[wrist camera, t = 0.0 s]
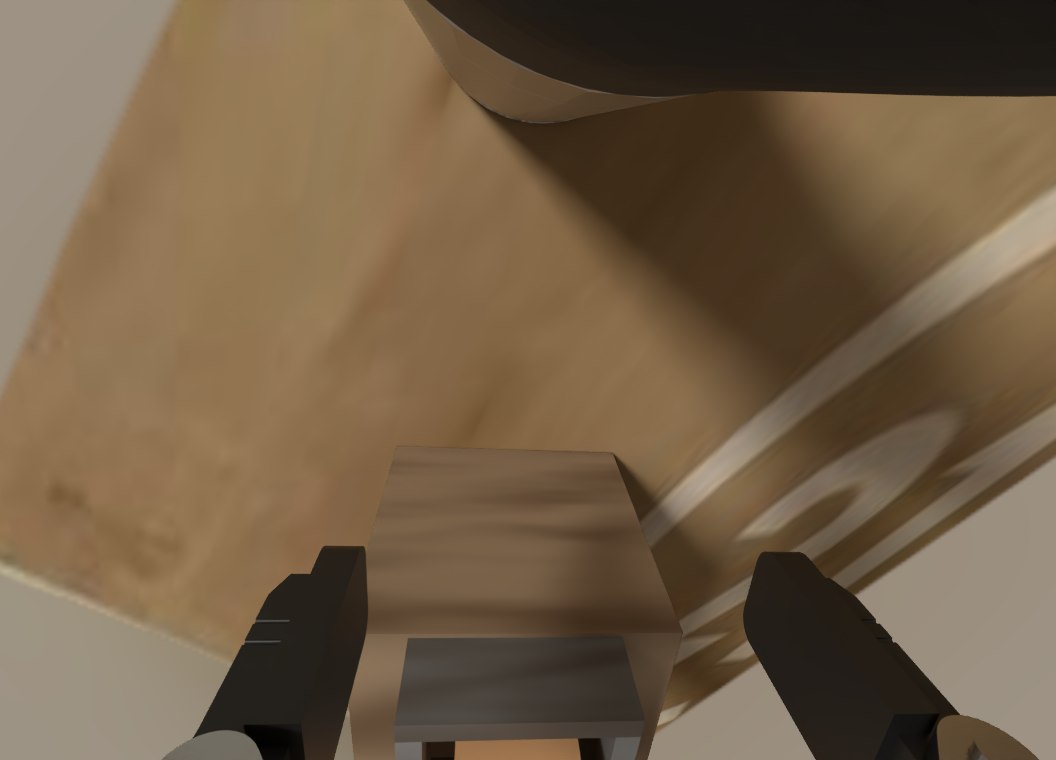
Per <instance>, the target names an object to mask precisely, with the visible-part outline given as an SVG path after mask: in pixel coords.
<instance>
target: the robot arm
mask: <svg viewBox="0 0 1056 760" xmlns="http://www.w3.org/2000/svg"><path fill="white" fill-rule="evenodd" d="M404 1H405V3H406V5H407V6H408V8H409V10H410V11H411V13H412V14H413V16H414V18H415V19H416V21H417V22H418V24H419V26H420V27H421V29H422V30H423V32H424V34H425V35H426V37H427V38H428V40H429V42H430V43H431V45H432V47H433V48H434V50H435V51H436V53H437V55H438V56H439V58H440V59H441V61H442V62H443V64H444V66H445V67H446V69H447V70H448V72H449V74H450V75H451V76H452V77H453V78H454V79H455V80H456V82H457V83H458V84H459V85H460V86H461V87H462V88H463V90H464V91H465V92H466V93H467V94H468V95H470V96H471V97H472V98H474V99H475V100H476V101H478V102H479V103H480V104H481V105H483V106H484V107H485V108H487V109H489V110H491V111H493V112H495V113H498V114H499V115H502V116H504V117H506V118H509V119H514V120H517V121H521V122H527V123H539V124H547V123H558V122H564V121H569V120H573V119H576V118H579V117H584V116H589V115H595V114H600V113H605V112H610V111H615V110H620V109H626V108H631V107H636V106H641V105H646V104H651V103H657V102H662V101H666V100H671V99H676V98H681V97H686V96H692V95H697V94H702V93H708V92H713V91H719V90H742V91H799V92H832V93H862V94H893V95H932V96H1012V97H1025V96H1056V0H404ZM743 621H744V628H745V632H746V636H747V638H748V641H749V643H750V645H751V646H752V648H753V650H754V652H755V653H756V655H757V657H758V659H759V661H760V662H761V664H762V666H763V668H764V669H765V671H766V673H767V675H768V676H769V678H770V680H771V682H772V683H773V685H774V687H775V689H776V690H777V692H778V694H779V696H780V697H781V699H782V701H783V703H784V705H785V706H786V708H787V710H788V712H789V713H790V715H791V717H792V719H793V721H794V722H795V724H796V726H797V727H798V729H799V731H800V733H801V735H802V736H803V738H804V740H805V742H806V743H807V745H808V747H809V749H810V750H811V752H812V754H813V756H814V758H815V759H816V760H1039V759H1038V758H1037V757H1036V756H1035V755H1034V754H1032V752H1031V751H1029V750H1028V749H1027V748H1026V747H1025V746H1024V745H1022V744H1021V743H1020V742H1019V741H1017V740H1016V739H1014V738H1013V737H1011V736H1010V735H1009V734H1007V733H1005V732H1004V731H1002V730H1000V729H999V728H997V727H994V726H992V725H990V724H989V723H986V722H984V721H981V720H979V719H976V718H972V717H969V716H962V715H960V714H959V713H958V712H957V711H956V710H955V708H954V707H953V706H952V705H951V704H950V703H949V702H948V701H947V699H946V698H945V697H944V696H943V695H942V694H941V693H940V691H939V690H938V689H937V688H936V687H935V686H934V685H933V683H932V682H931V681H930V680H929V679H928V678H927V677H926V676H925V675H924V673H923V672H922V671H921V670H920V669H919V668H918V666H917V665H915V663H914V662H913V661H912V660H911V659H910V657H908V655H907V654H906V653H905V652H904V651H903V650H902V649H901V647H900V646H899V645H898V644H897V643H893V641H892V637H891V636H890V635H889V634H888V632H887V631H886V630H885V629H884V628H883V627H882V626H881V625H880V624H877V623H876V619H875V618H874V617H873V616H872V614H871V613H870V612H869V611H868V610H867V609H866V608H865V606H864V605H863V604H862V603H861V602H860V601H859V600H858V599H857V597H855V596H854V595H853V594H851V593H850V592H848V591H847V590H846V589H844V588H843V587H841V586H840V585H839V584H837V583H836V582H835V581H833V580H832V579H830V578H825V577H824V576H823V575H822V573H821V572H820V571H819V570H818V569H817V568H816V566H815V565H814V564H813V563H812V562H811V561H810V559H809V558H808V557H807V556H806V555H804V554H803V553H801V552H763V553H761V555H760V556H759V558H758V560H757V563H756V567H755V571H754V574H753V578H752V581H751V585H750V589H749V592H748V596H747V600H746V603H745V607H744V613H743ZM367 622H368V592H367V569H366V552H365V548H364V546H324V547H323V548H322V549H321V551H320V553H319V556H318V558H317V560H316V562H315V565H314V567H313V569H312V571H311V574H290V575H289V576H288V577H287V578H286V579H285V580H284V581H283V582H282V583H281V584H279V585H278V586H277V587H276V588H275V589H274V590H273V591H272V592H271V593H270V594H269V595H268V597H267V598H266V600H265V602H264V604H263V606H262V608H261V610H260V612H259V614H258V616H257V618H256V622H255V624H253V625H252V627H251V629H250V631H249V633H248V635H247V637H246V639H245V644H244V645H242V646H241V648H240V650H239V652H238V654H237V656H236V658H235V660H234V662H233V664H232V666H231V667H230V669H229V672H228V674H227V675H226V677H225V679H224V681H223V683H222V685H221V687H220V689H219V691H218V692H217V694H216V696H215V698H214V700H213V702H212V704H211V706H210V708H209V710H208V712H207V714H206V715H205V717H204V719H203V721H202V723H201V725H200V727H199V729H198V730H197V732H196V734H195V735H194V737H193V738H192V739H191V740H188V741H187V742H185V743H183V744H182V745H180V746H178V747H176V748H175V749H174V750H173V751H171V752H170V753H168V754H167V755H166V756H165V757H164V758H163V759H162V760H334V757H335V753H336V749H337V745H338V741H339V737H340V734H341V730H342V726H343V722H344V719H345V715H346V711H347V707H348V703H349V699H350V696H351V692H352V688H353V684H354V680H355V676H356V673H357V669H358V665H359V661H360V657H361V653H362V650H363V646H364V642H365V637H366V630H367Z"/></svg>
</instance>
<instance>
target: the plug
mask: <svg viewBox="0 0 1056 760" xmlns="http://www.w3.org/2000/svg"><path fill="white" fill-rule="evenodd" d="M454 760H581V757H580V750H579V743H578V738H577V739H534V740H490V741H455V759H454Z"/></svg>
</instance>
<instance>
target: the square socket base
mask: <svg viewBox="0 0 1056 760" xmlns="http://www.w3.org/2000/svg"><path fill="white" fill-rule="evenodd" d="M366 569H367V592H368V622H367V630H366V637H365V642H364V646H363V650H362V653H361V657H360V661H359V665H358V669H357V673H356V676H355V680H354V684H353V688H352V692H351V696H350V699H349V711H350V721H351V732H352V742H353V753H354V760H454V759H455V741H490V740H534V739H577V738H578V743H579V750H580V757H581V760H647V759H648V756H649V752H650V749H651V745H652V741H653V738H654V734H655V731H656V727H657V724H658V720H659V716H660V713H661V709H662V706H663V702H664V699H665V695H666V692H667V688H668V684H669V681H670V677H671V674H672V670H673V667H674V663H675V660H676V656H677V652H678V649H679V645H680V642H681V638H682V635H683V632H682V629H681V627H680V624H679V622H678V619H677V616H676V614H675V611H674V609H673V606H672V604H671V601H670V599H669V596H668V593H667V591H666V588H665V586H664V583H663V581H662V578H661V576H660V573H659V571H658V568H657V565H656V563H655V560H654V558H653V555H652V553H651V550H650V548H649V545H648V542H647V540H646V537H645V535H644V532H643V530H642V527H641V525H640V522H639V520H638V517H637V514H636V512H635V509H634V507H633V504H632V502H631V499H630V497H629V494H628V491H627V489H626V486H625V484H624V481H623V479H622V476H621V474H620V471H619V468H618V466H617V463H616V461H615V458H614V456H613V453H607V452H573V451H539V450H504V449H470V448H436V447H402V446H397V448H396V451H395V455H394V458H393V461H392V465H391V468H390V472H389V475H388V479H387V482H386V485H385V489H384V492H383V496H382V499H381V503H380V506H379V509H378V513H377V516H376V520H375V523H374V527H373V530H372V533H371V537H370V540H369V544H368V547H367V551H366Z"/></svg>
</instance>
